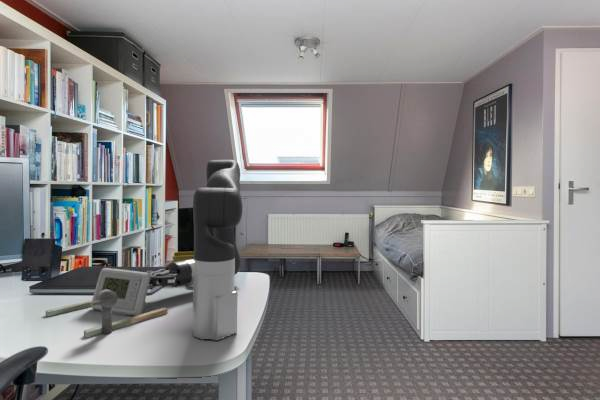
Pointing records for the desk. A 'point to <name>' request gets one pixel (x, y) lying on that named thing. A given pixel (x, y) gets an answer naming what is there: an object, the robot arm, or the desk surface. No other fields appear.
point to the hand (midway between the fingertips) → (132, 283)
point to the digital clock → (124, 290)
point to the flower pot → (182, 256)
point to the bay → (106, 313)
